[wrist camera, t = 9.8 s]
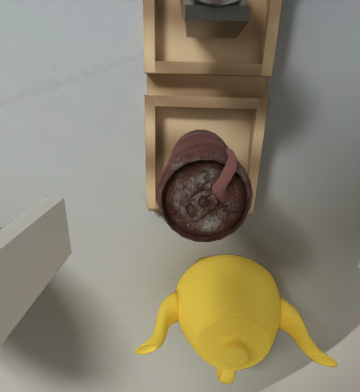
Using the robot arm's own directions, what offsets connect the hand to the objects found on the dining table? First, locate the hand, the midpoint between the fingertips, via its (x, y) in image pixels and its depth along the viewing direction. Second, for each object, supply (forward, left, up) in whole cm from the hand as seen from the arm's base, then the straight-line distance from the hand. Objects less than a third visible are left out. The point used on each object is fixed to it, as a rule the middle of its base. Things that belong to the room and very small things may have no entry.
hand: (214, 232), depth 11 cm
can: (0, 0, -19) cm, 19 cm away
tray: (-7, 0, -20) cm, 21 cm away
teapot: (+19, +4, -20) cm, 28 cm away
